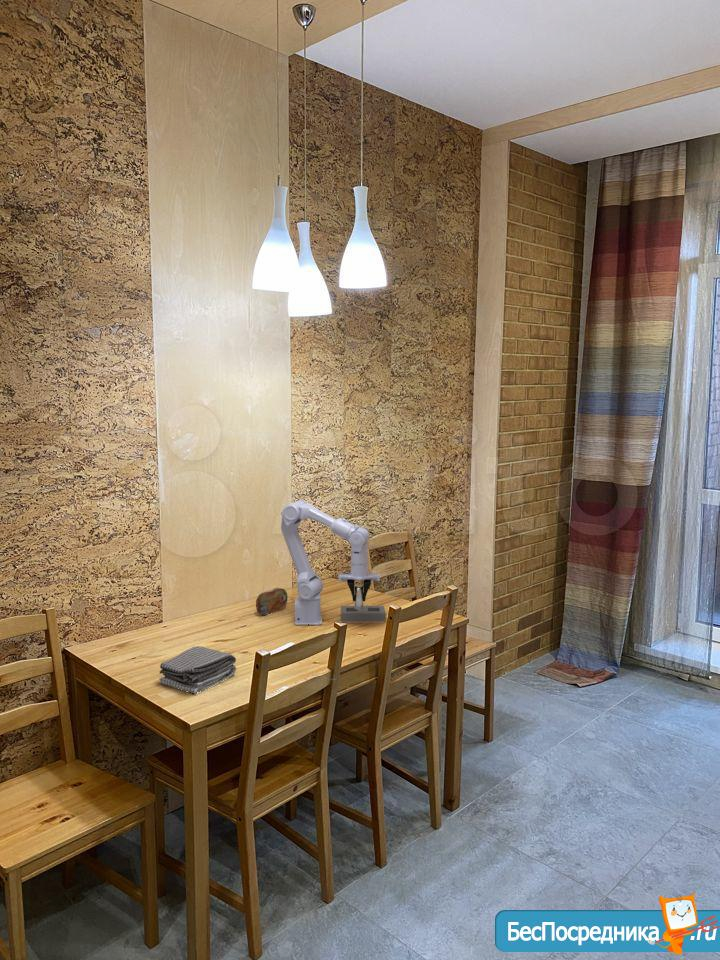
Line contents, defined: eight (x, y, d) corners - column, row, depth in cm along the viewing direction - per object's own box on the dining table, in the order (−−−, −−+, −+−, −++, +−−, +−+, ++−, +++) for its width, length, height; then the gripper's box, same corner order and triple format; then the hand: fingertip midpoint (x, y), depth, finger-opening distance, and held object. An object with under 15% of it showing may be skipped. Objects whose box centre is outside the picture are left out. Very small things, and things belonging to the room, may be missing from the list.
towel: (238, 675, 225) (238, 650, 224) (193, 697, 210) (192, 670, 209) (201, 664, 233) (200, 640, 232) (155, 684, 218) (155, 659, 217)
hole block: (341, 622, 272) (341, 613, 272) (340, 614, 281) (340, 605, 280) (385, 622, 273) (385, 613, 272) (383, 614, 281) (383, 605, 281)
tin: (260, 617, 278) (260, 595, 276) (254, 616, 279) (254, 594, 278) (288, 607, 289) (288, 586, 288) (282, 606, 291) (282, 585, 290)
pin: (354, 609, 265) (354, 587, 263) (354, 607, 268) (354, 585, 266) (363, 609, 265) (363, 587, 264) (363, 607, 268) (363, 585, 266)
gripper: (338, 565, 260) (338, 604, 262) (380, 565, 260) (380, 603, 262) (338, 560, 267) (338, 598, 268) (379, 560, 267) (379, 597, 269)
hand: (358, 600), depth 266 cm, fingers closed on pin, 3 cm apart
